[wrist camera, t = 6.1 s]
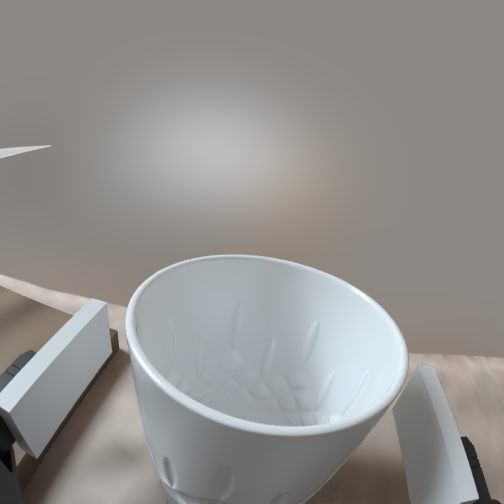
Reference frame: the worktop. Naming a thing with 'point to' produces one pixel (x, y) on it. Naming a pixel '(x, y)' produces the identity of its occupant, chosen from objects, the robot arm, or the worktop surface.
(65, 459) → the worktop surface
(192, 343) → the white cup
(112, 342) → the board
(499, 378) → the worktop surface
